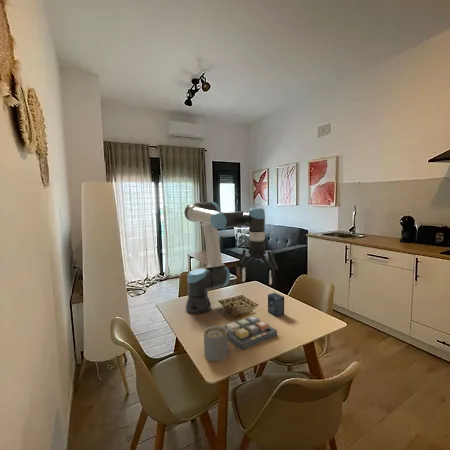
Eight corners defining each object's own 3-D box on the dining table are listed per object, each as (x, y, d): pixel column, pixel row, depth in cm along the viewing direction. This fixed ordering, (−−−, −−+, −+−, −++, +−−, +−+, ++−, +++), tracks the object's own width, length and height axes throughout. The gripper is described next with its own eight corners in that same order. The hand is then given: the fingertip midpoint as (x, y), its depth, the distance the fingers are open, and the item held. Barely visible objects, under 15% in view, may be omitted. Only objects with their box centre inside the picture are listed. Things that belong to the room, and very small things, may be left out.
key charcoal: (245, 330, 122) (245, 326, 122) (253, 328, 125) (252, 323, 124) (251, 334, 119) (251, 330, 118) (258, 331, 121) (258, 327, 121)
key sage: (237, 324, 128) (237, 320, 128) (244, 322, 131) (244, 318, 130) (242, 328, 125) (242, 324, 124) (249, 325, 127) (249, 321, 127)
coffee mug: (213, 364, 103) (212, 340, 102) (200, 353, 111) (199, 330, 110) (239, 352, 111) (238, 329, 110) (225, 342, 119) (224, 321, 118)
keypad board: (219, 332, 127) (219, 327, 127) (253, 321, 138) (253, 316, 138) (241, 350, 112) (241, 343, 111) (277, 335, 123) (276, 329, 123)
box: (267, 312, 149) (267, 294, 148) (275, 309, 152) (274, 292, 151) (277, 317, 142) (276, 298, 141) (284, 314, 145) (284, 296, 144)
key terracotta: (255, 327, 126) (255, 322, 125) (262, 324, 128) (262, 320, 128) (261, 330, 122) (261, 326, 122) (268, 328, 124) (268, 323, 124)
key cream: (227, 328, 125) (226, 324, 125) (234, 325, 127) (234, 321, 127) (232, 332, 121) (232, 327, 121) (239, 329, 124) (239, 325, 123)
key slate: (246, 321, 131) (246, 317, 131) (253, 319, 134) (253, 315, 134) (252, 325, 128) (252, 320, 128) (259, 322, 130) (259, 318, 130)
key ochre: (235, 334, 119) (235, 330, 119) (243, 331, 121) (242, 327, 121) (240, 338, 115) (240, 334, 115) (248, 335, 118) (248, 331, 118)
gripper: (230, 240, 127) (230, 281, 129) (281, 242, 118) (281, 287, 120) (235, 237, 134) (235, 277, 136) (284, 240, 125) (283, 282, 127)
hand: (256, 282), depth 128 cm, fingers open, 13 cm apart
